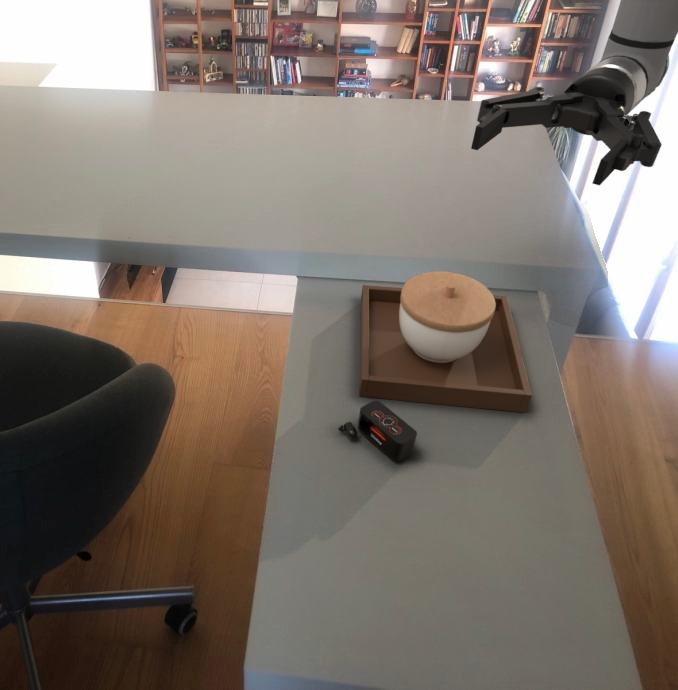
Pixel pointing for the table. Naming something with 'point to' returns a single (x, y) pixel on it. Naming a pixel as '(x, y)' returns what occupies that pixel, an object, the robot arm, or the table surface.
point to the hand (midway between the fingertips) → (535, 154)
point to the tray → (439, 378)
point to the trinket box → (444, 315)
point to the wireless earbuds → (383, 430)
